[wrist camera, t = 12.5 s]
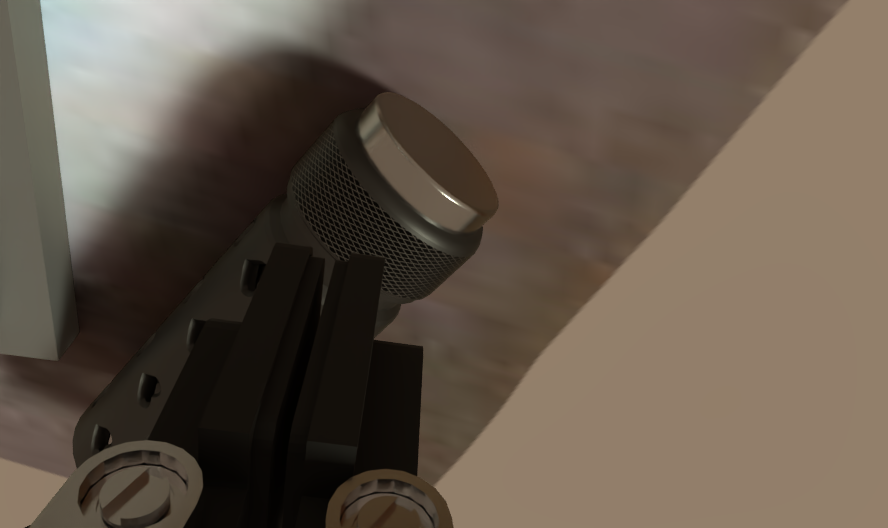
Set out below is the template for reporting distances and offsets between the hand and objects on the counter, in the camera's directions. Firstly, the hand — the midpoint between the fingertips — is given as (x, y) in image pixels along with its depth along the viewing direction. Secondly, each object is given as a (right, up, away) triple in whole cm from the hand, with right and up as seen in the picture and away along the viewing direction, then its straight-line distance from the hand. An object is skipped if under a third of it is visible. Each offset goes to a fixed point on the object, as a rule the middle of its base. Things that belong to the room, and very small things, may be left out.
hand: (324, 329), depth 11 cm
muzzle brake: (-8, +1, +34) cm, 35 cm away
